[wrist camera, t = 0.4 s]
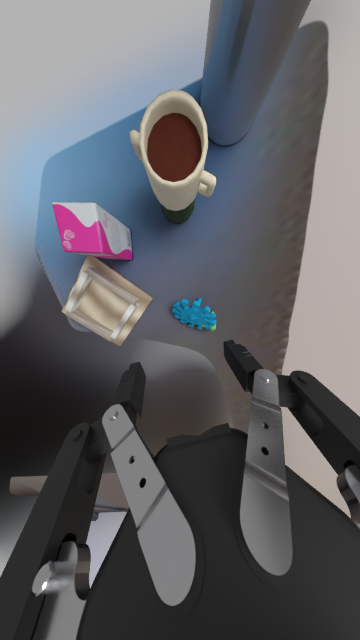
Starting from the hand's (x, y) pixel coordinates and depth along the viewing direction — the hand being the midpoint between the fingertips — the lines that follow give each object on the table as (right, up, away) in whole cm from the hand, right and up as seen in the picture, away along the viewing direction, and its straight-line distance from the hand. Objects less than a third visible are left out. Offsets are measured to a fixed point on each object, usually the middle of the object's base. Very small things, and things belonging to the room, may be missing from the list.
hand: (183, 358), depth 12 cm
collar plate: (-18, +7, +20) cm, 28 cm away
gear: (+3, +6, +21) cm, 22 cm away
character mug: (-1, +26, +13) cm, 29 cm away
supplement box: (-13, +20, +16) cm, 28 cm away
